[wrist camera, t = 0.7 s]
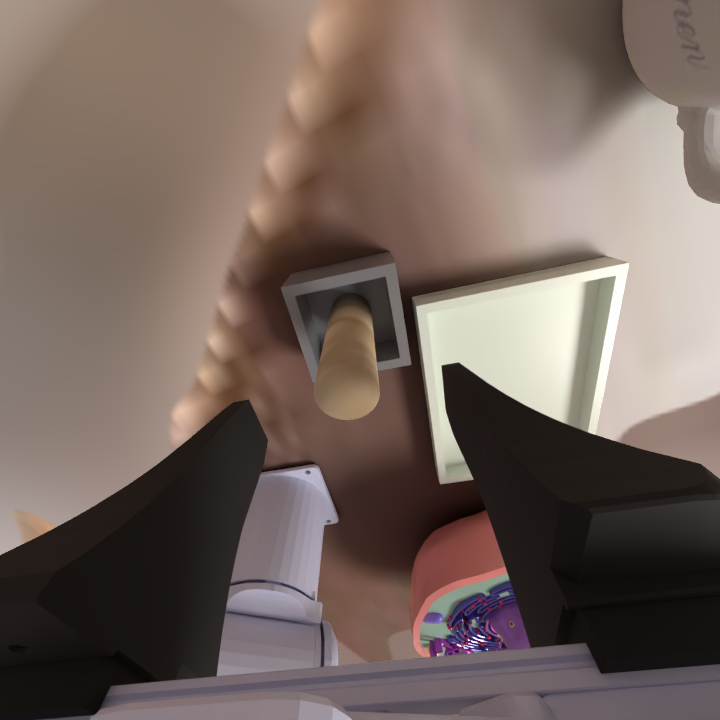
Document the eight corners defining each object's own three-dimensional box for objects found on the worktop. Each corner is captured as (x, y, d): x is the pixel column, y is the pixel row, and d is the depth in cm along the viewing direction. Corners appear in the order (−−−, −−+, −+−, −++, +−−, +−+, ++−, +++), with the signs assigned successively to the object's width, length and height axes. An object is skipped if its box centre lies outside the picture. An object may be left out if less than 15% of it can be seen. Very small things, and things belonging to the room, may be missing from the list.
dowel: (336, 334, 21) (323, 424, 13) (326, 297, 20) (304, 372, 12) (374, 327, 21) (384, 413, 13) (366, 288, 19) (372, 359, 12)
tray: (435, 467, 28) (440, 484, 26) (411, 297, 20) (416, 306, 19) (576, 446, 27) (590, 462, 25) (607, 256, 19) (629, 262, 18)
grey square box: (318, 358, 22) (313, 382, 20) (291, 273, 20) (280, 287, 17) (404, 341, 22) (411, 364, 19) (390, 251, 19) (395, 262, 16)
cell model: (382, 578, 37) (391, 722, 27) (423, 457, 27) (460, 611, 18) (518, 589, 38) (574, 729, 28) (603, 476, 29) (732, 630, 19)
